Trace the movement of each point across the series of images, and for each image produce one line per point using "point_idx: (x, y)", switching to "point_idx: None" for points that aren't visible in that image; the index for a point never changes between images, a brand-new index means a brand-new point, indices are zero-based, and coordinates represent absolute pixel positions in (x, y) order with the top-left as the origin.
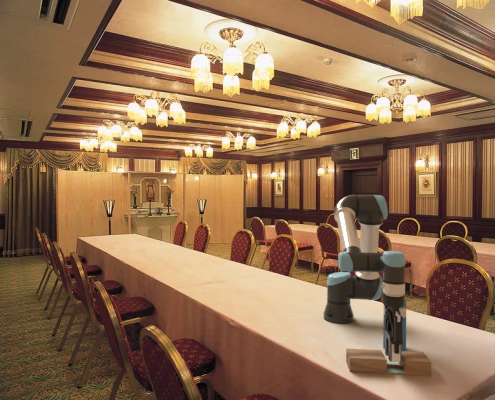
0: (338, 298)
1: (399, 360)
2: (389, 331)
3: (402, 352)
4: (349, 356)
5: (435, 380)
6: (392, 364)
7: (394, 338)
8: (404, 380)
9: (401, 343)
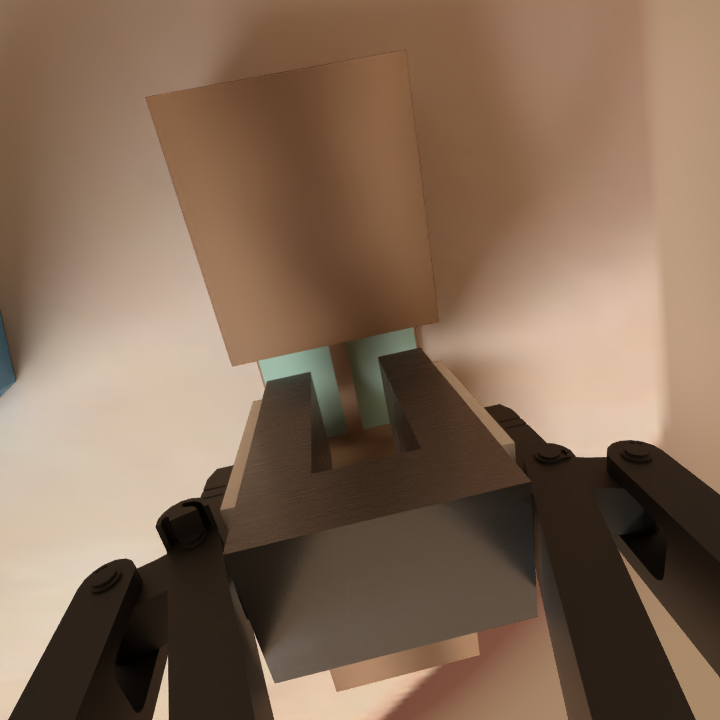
0: None
1: (447, 370)
2: (330, 632)
3: (253, 333)
4: (460, 659)
5: (442, 77)
6: (340, 385)
7: (649, 575)
8: (488, 310)
9: (658, 461)
